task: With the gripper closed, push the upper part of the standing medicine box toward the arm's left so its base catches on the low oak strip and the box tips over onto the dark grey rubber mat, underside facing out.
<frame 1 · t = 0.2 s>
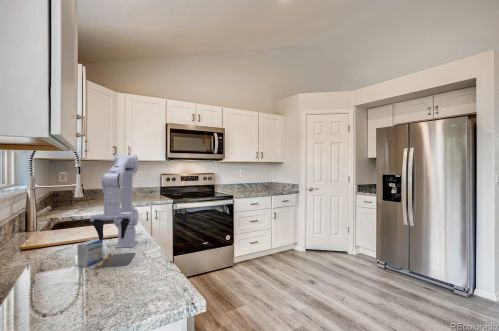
hand: (112, 238, 97), 10 cm above the worktop, tool pointing down, fingers open, 7 cm apart
rubber mat: (120, 259, 102), on the worktop
medicine box: (90, 263, 99), on the worktop
oak strip: (104, 261, 100), on the worktop
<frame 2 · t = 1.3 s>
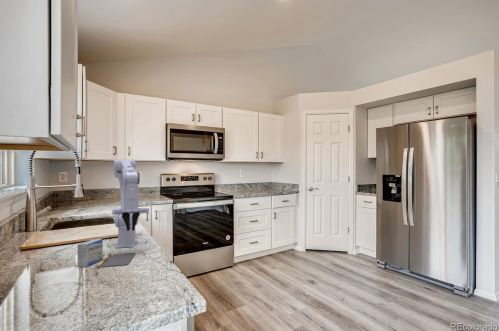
hand: (131, 230, 109), 10 cm above the worktop, tool pointing down, fingers closed
nothing on the worktop moved.
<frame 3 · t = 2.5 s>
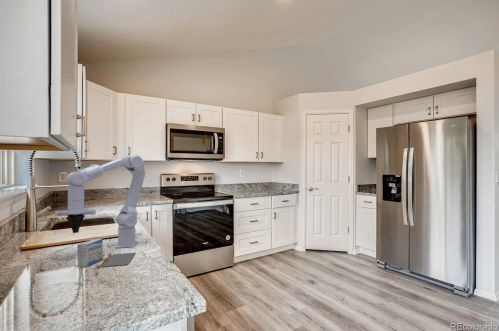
hand: (75, 232, 106), 10 cm above the worktop, tool pointing down, fingers closed
nothing on the worktop moved.
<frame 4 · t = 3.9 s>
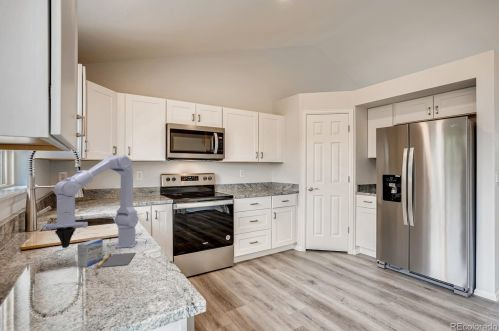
hand: (65, 247, 97), 7 cm above the worktop, tool pointing down, fingers closed
nothing on the worktop moved.
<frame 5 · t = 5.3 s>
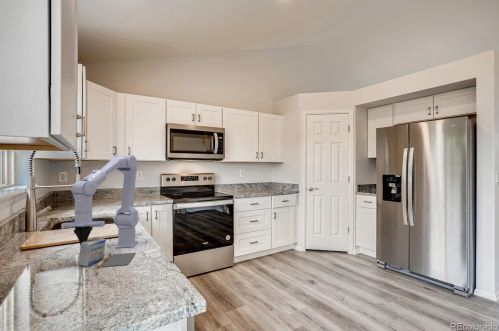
hand: (83, 246, 98), 7 cm above the worktop, tool pointing down, fingers closed
medicine box: (90, 262, 99), on the worktop, touching gripper
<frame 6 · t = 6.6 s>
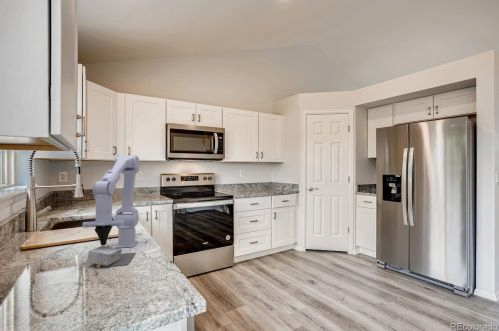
hand: (103, 244, 100), 7 cm above the worktop, tool pointing down, fingers closed
medicine box: (94, 253, 98), point 4 cm above the worktop, touching oak strip, rubber mat
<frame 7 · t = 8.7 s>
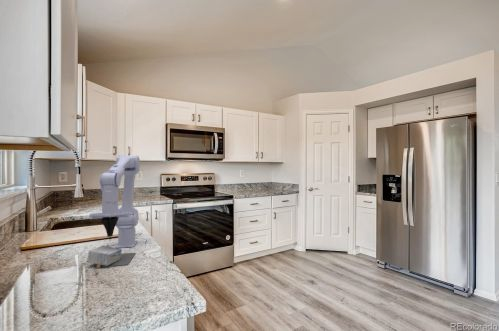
hand: (110, 236, 100), 10 cm above the worktop, tool pointing down, fingers closed
nothing on the worktop moved.
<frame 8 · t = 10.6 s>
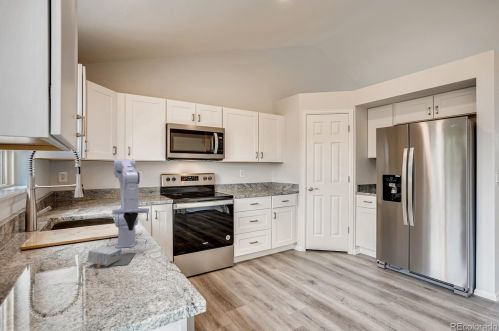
hand: (130, 230, 109), 10 cm above the worktop, tool pointing down, fingers closed
nothing on the worktop moved.
at the end: medicine box tilted 99°; medicine box inside the target area (7.3 cm from its centre), point 4.1 cm above the worktop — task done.
